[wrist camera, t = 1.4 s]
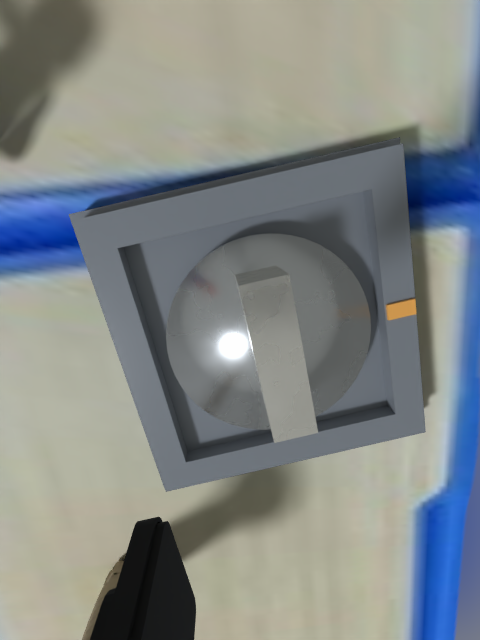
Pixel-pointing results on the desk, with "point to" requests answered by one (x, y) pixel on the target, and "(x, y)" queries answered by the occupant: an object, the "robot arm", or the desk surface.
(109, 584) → the handle
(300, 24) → the desk surface
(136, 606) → the robot arm
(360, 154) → the dial housing
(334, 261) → the dial
